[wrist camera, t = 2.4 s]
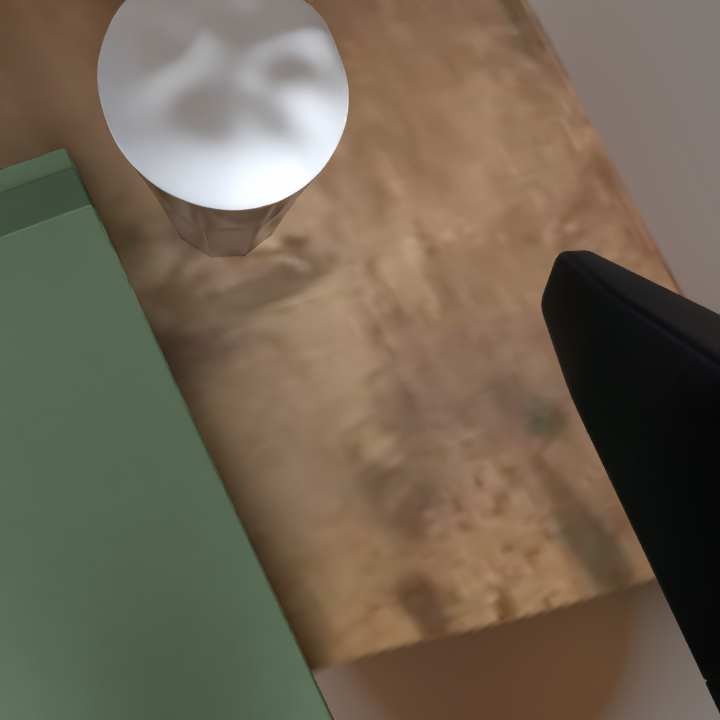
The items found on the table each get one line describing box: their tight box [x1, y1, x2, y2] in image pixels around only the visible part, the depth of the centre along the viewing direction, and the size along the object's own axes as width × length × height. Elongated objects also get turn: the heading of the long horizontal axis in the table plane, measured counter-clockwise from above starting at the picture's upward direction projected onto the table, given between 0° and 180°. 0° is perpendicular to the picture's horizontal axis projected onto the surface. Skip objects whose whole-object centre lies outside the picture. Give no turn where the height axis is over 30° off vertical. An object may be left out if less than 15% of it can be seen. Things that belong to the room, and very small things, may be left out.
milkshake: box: [97, 0, 349, 257], centre depth 15 cm, size 4×5×10 cm
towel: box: [0, 148, 334, 720], centre depth 18 cm, size 20×9×1 cm, turn 25°
